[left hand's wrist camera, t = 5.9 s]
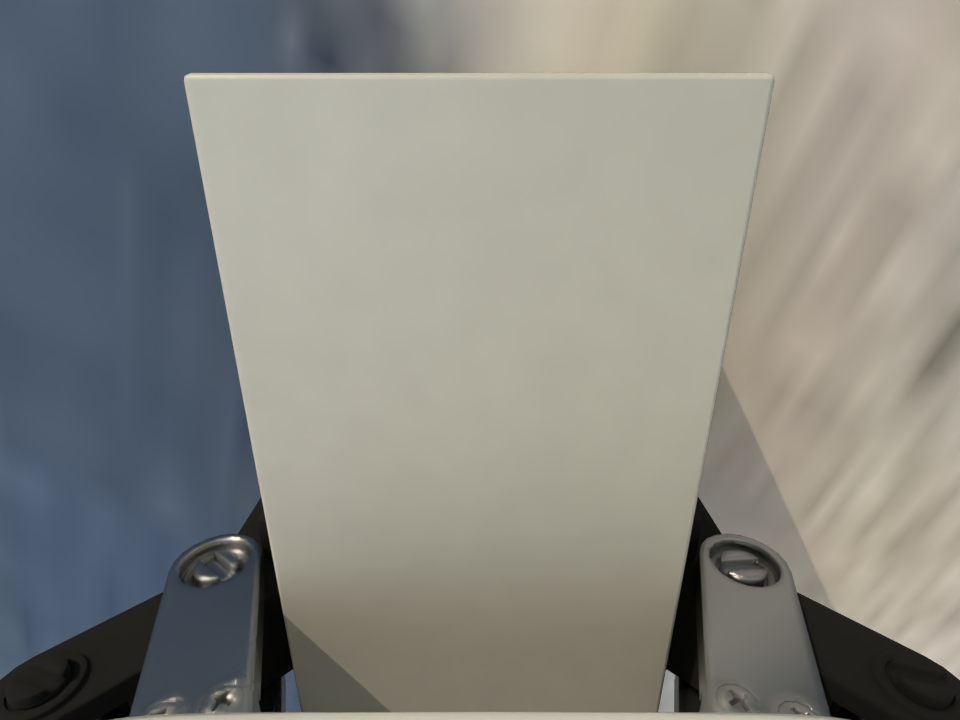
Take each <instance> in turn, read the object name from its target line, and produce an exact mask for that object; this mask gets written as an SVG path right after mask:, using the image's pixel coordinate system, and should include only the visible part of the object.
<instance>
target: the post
mask: <svg viewBox="0 0 960 720" xmlns="http://www.w3.org/2000/svg"><path fill="white" fill-rule="evenodd" d="M184 83H185V89H186V94H187V99H188V105H189V110H190V116H191V121H192V126H193V132H194V137H195V143H196V148H197V153H198V159H199V164H200V169H201V175H202V180H203V186H204V191H205V196H206V202H207V207H208V212H209V218H210V223H211V229H212V234H213V239H214V245H215V250H216V255H217V261H218V266H219V272H220V277H221V282H222V288H223V293H224V299H225V304H226V309H227V315H228V320H229V325H230V331H231V336H232V342H233V347H234V352H235V358H236V363H237V368H238V374H239V379H240V385H241V390H242V395H243V401H244V406H245V411H246V417H247V422H248V428H249V433H250V438H251V444H252V449H253V455H254V460H255V465H256V471H257V476H258V481H259V487H260V492H261V498H262V503H263V508H264V514H265V519H266V524H267V530H268V535H269V541H270V546H271V551H272V557H273V562H274V567H275V573H276V578H277V584H278V589H279V594H280V600H281V605H282V611H283V616H284V621H285V627H286V632H287V637H288V643H289V648H290V654H291V659H292V664H293V670H294V675H295V680H296V686H297V691H298V697H299V702H300V707H301V712H658V709H659V704H660V698H661V693H662V687H663V682H664V677H665V671H666V666H667V660H668V655H669V649H670V644H671V639H672V633H673V628H674V622H675V617H676V612H677V606H678V601H679V595H680V590H681V585H682V579H683V574H684V568H685V563H686V557H687V552H688V547H689V541H690V536H691V530H692V525H693V520H694V514H695V509H696V503H697V498H698V493H699V487H700V482H701V476H702V471H703V465H704V460H705V455H706V449H707V444H708V438H709V433H710V428H711V422H712V417H713V411H714V406H715V401H716V395H717V390H718V384H719V379H720V373H721V368H722V363H723V357H724V352H725V346H726V341H727V336H728V330H729V325H730V319H731V314H732V309H733V303H734V298H735V292H736V287H737V281H738V276H739V271H740V265H741V260H742V254H743V249H744V244H745V238H746V233H747V227H748V222H749V217H750V211H751V206H752V200H753V195H754V189H755V184H756V179H757V173H758V168H759V162H760V157H761V152H762V146H763V141H764V135H765V130H766V125H767V119H768V114H769V108H770V103H771V97H772V92H773V87H774V76H773V75H771V74H769V73H190V74H188V75H186V76H185V78H184Z"/></svg>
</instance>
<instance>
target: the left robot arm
mask: <svg viewBox="0 0 960 720" xmlns="http://www.w3.org/2000/svg"><path fill="white" fill-rule="evenodd" d="M292 669H293V664H292V659H291V654H290V648H289V643H288V637H287V632H286V627H285V621H284V616H283V611H282V605H281V600H280V594H279V589H278V584H277V578H276V573H275V567H274V562H273V557H272V551H271V546H270V541H269V535H268V530H267V524H266V519H265V514H264V508H263V503H262V498H260V500H259V501H258V503H257V505H256V506H255V508H254V509H253V511H252V513H251V514H250V516H249V517H248V519H247V521H246V522H245V524H244V525H243V527H242V528H241V530H240V532H239V533H238V534H227V535H219V536H216V537H212V538H209V539H206V540H204V541H202V542H200V543H198V544H195V545H193V546H192V547H191V548H189V549H188V550H186V551H185V552H183V553H182V554H181V555H180V556H179V557H178V558H177V559H176V561H175V562H174V563H173V565H172V567H171V569H170V571H169V573H168V577H167V580H166V584H165V588H164V591H163V592H162V593H160V594H158V595H156V596H154V597H152V598H150V599H148V600H146V601H144V602H142V603H140V604H138V605H136V606H134V607H132V608H130V609H128V610H126V611H124V612H122V613H120V614H119V615H117V616H115V617H113V618H111V619H109V620H107V621H105V622H103V623H101V624H99V625H97V626H95V627H93V628H91V629H89V630H87V631H85V632H83V633H81V634H79V635H77V636H75V637H73V638H71V639H69V640H67V641H65V642H63V643H61V644H59V645H57V646H55V647H53V648H51V649H49V650H47V651H45V652H43V653H41V654H39V655H37V656H35V657H33V658H31V659H30V660H28V661H26V662H24V663H23V664H21V665H19V666H18V667H16V668H15V669H14V670H12V671H11V672H10V673H9V674H7V675H6V676H5V677H4V678H2V679H1V680H0V720H960V680H959V679H957V678H956V677H955V676H954V675H952V674H951V673H950V672H949V671H947V670H946V669H945V668H944V667H942V666H940V665H939V664H937V663H935V662H934V661H932V660H930V659H928V658H927V657H925V656H923V655H921V654H919V653H917V652H915V651H913V650H911V649H909V648H907V647H905V646H903V645H901V644H899V643H897V642H895V641H893V640H891V639H889V638H887V637H885V636H883V635H881V634H879V633H877V632H875V631H873V630H871V629H869V628H867V627H865V626H863V625H861V624H859V623H857V622H855V621H853V620H851V619H849V618H847V617H845V616H843V615H841V614H839V613H837V612H835V611H833V610H831V609H829V608H827V607H825V606H823V605H821V604H819V603H817V602H815V601H813V600H811V599H809V598H807V597H805V596H803V595H801V594H799V593H797V591H796V588H795V584H794V580H793V577H792V573H791V571H790V569H789V567H788V565H787V563H786V562H785V561H784V559H783V558H782V557H781V556H780V555H779V554H778V553H777V552H775V551H774V550H772V549H771V548H769V547H768V546H767V545H765V544H762V543H760V542H758V541H756V540H754V539H751V538H748V537H744V536H741V535H733V534H721V532H720V531H719V529H718V528H717V526H716V524H715V523H714V521H713V520H712V518H711V516H710V515H709V513H708V512H707V510H706V508H705V507H704V505H703V504H702V502H701V501H700V499H699V497H698V498H697V503H696V509H695V514H694V520H693V525H692V530H691V536H690V541H689V547H688V552H687V557H686V563H685V568H684V574H683V579H682V585H681V590H680V595H679V601H678V606H677V612H676V617H675V622H674V628H673V633H672V639H671V644H670V649H669V655H668V660H667V666H666V669H668V670H669V671H670V672H672V673H673V674H675V675H676V676H675V681H674V712H286V681H285V676H284V675H285V674H286V673H288V672H289V671H291V670H292Z"/></svg>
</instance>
